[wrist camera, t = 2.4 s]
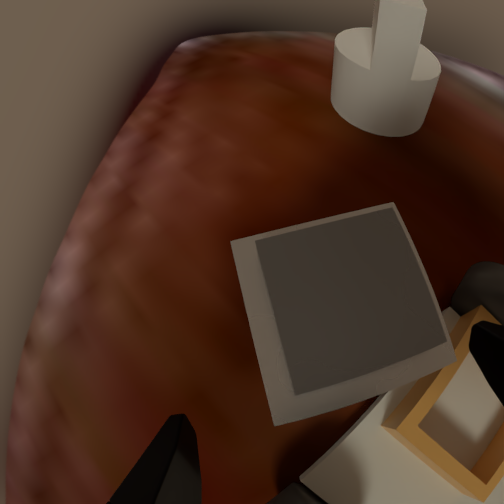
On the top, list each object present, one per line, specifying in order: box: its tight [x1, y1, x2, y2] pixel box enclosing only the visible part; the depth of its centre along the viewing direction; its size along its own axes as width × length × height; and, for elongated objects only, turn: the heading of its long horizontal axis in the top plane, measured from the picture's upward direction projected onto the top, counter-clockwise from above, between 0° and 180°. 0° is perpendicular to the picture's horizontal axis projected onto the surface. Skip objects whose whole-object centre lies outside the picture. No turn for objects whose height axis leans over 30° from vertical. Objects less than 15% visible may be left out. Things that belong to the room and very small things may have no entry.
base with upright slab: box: [331, 0, 441, 137], centre depth 20 cm, size 9×9×12 cm
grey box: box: [230, 202, 457, 426], centre depth 11 cm, size 4×4×13 cm
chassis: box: [266, 261, 504, 504], centre depth 10 cm, size 19×17×5 cm
